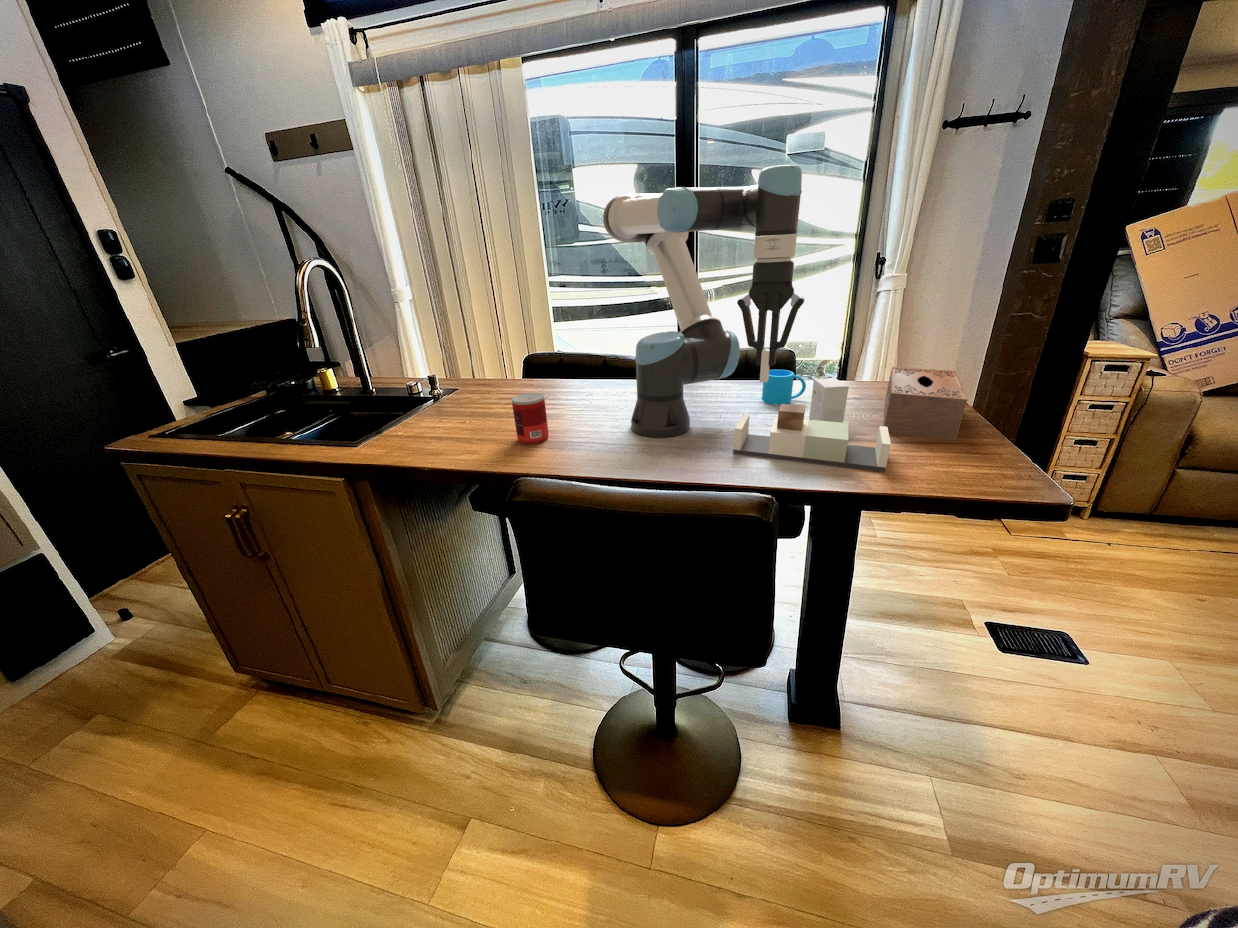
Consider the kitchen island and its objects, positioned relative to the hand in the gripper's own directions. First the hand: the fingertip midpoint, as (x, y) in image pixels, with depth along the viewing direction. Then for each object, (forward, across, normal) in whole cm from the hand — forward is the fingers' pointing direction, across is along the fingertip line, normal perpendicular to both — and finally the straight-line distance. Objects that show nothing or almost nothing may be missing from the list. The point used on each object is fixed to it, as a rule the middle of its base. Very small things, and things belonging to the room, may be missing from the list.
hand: (764, 380), depth 100 cm
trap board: (+16, +10, 0) cm, 19 cm away
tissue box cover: (+16, +34, +30) cm, 49 cm away
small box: (+16, +13, +21) cm, 30 cm away
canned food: (+16, -54, -11) cm, 57 cm away
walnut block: (+10, +6, 0) cm, 12 cm away
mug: (+16, +1, +37) cm, 41 cm away
